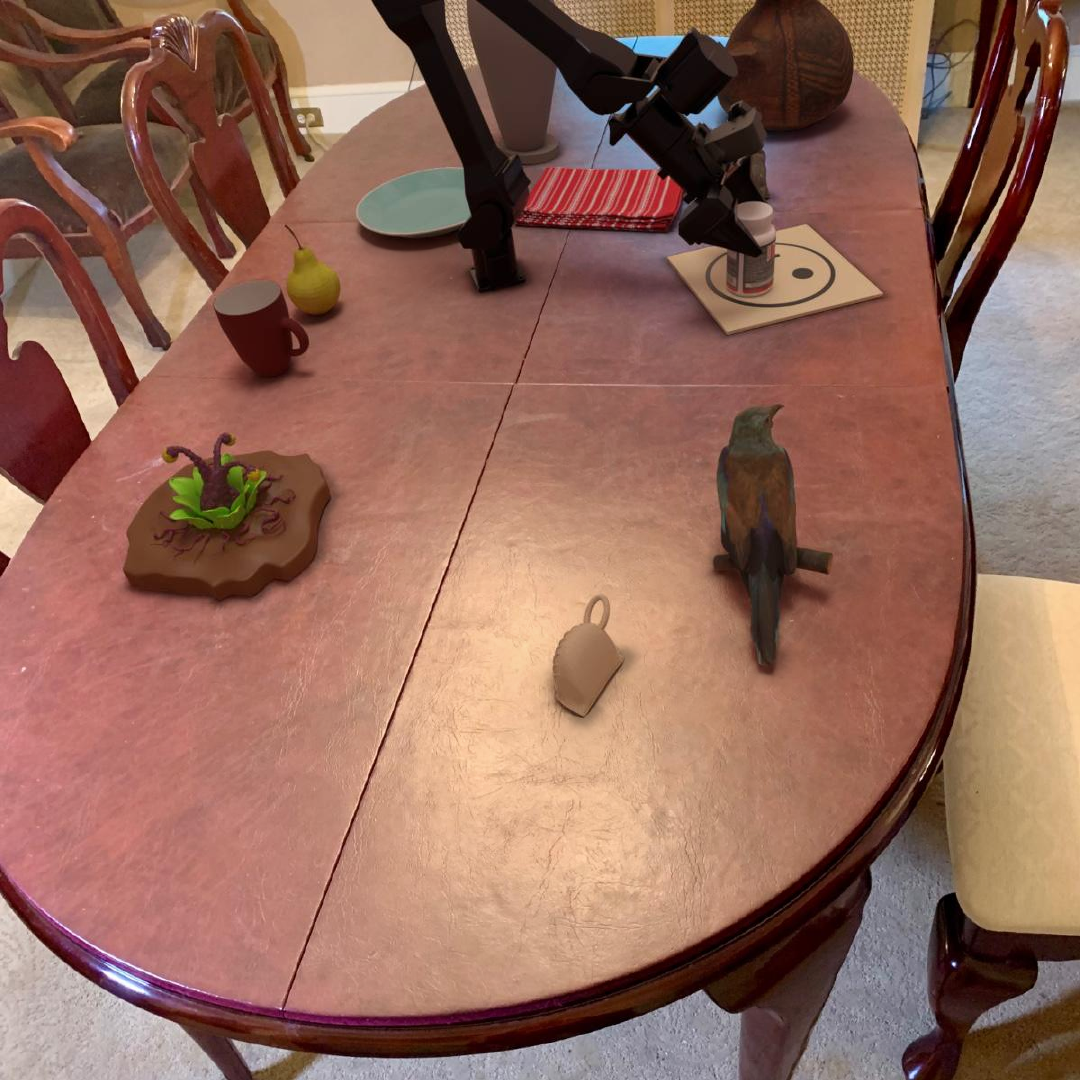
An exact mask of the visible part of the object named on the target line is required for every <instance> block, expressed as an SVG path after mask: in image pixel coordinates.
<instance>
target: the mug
mask: <svg viewBox="0 0 1080 1080" xmlns="http://www.w3.org/2000/svg"><path fill="white" fill-rule="evenodd" d="M212 306H213V310H214V312H215V316H216V318H217V320H218V323H219V325H220V327H221V329H222V331H223V333H224V334H225V336H226V337H227V339H228V341H229V342H230V344H231V346H232V347H233V349H234V350H235V352H236V354H237V355H238V357H239V358H240V360H241V361H242V362H243V363H244V364H245V365H246V366H247V367H248V368H249V369H251V370H252V371H253V372H254V373H255V374H257V375H259V376H260V377H263V378H273V377H278V376H281V375H282V374H284V373H285V372H286V371H288V369H289V368H290V364H291V360H292V358H295V357H296V358H297V357H300V356H302V355H304V354H305V353H306V352H307V351H308V350H309V347H310V339H309V336H308V333H307V332H306V330H305V328H304V327H303V326H302V325H301V324H300V323H299V322H298V321H297V320H295V319H293V318H291V317H290V313H289V308H288V304H287V302H286V299H285V295H284V293H283V290H282V287H281V286H280V285H279V284H278V283H277V282H275V281H272V280H270V279H269V280H268V279H253V280H246V281H243V282H240V283H236V284H233V285H232V286H230V287H227V288H226V289H224V290H222V291H221V292H220V293H219V294H218V295H217V296H216V297H215V298H214V301H213V305H212ZM293 335H294V336H295V337H296V339H297V342H298V345H299V348H294V342H293Z"/></svg>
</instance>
